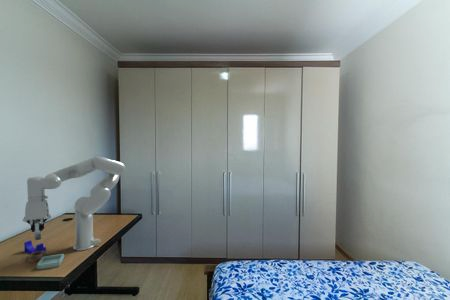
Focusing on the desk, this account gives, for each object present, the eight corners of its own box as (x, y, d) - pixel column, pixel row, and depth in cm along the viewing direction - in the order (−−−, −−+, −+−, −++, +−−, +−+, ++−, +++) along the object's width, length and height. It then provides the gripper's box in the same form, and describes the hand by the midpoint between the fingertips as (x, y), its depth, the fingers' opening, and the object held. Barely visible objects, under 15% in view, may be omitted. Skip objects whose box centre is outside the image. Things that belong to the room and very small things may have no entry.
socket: (45, 255, 138) (45, 250, 138) (41, 260, 133) (41, 255, 133) (32, 257, 136) (32, 252, 136) (28, 262, 131) (28, 256, 131)
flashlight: (43, 237, 137) (42, 218, 136) (40, 239, 133) (40, 220, 133) (35, 238, 136) (34, 219, 135) (32, 240, 132) (31, 221, 132)
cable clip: (46, 252, 143) (45, 242, 143) (38, 255, 139) (37, 245, 138) (32, 249, 147) (32, 239, 147) (24, 252, 142) (24, 242, 142)
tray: (64, 257, 136) (64, 253, 136) (59, 266, 127) (59, 262, 127) (43, 260, 132) (43, 256, 132) (36, 270, 123) (36, 265, 123)
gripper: (55, 196, 140) (56, 226, 141) (21, 198, 134) (22, 230, 135) (51, 199, 133) (52, 231, 134) (15, 202, 127) (16, 235, 128)
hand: (37, 230), depth 134 cm, fingers closed on flashlight, 3 cm apart
